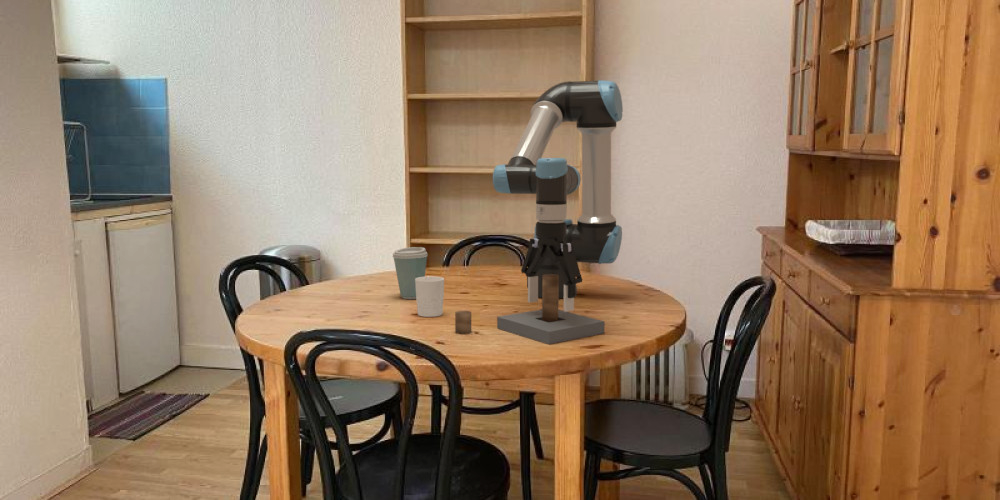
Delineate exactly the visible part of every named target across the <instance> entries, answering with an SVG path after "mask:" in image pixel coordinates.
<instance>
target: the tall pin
mask: <svg viewBox="0 0 1000 500" xmlns="http://www.w3.org/2000/svg"><path fill="white" fill-rule="evenodd" d="M541 299H542V300H541V303H542V304H541V306H542V307H541V309H542V321H545V322H555V321H558V310H559V299H560V298H559V275H555V274H545V275H543V286H542V298H541Z"/></svg>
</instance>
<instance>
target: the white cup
mask: <svg viewBox="0 0 1000 500" xmlns="http://www.w3.org/2000/svg"><path fill="white" fill-rule="evenodd" d="M415 285H416V299H415V300H416V306H417V315H418V317H423V318H424V317H425V318H434V317H435V318H436V317H440V316H442V315H443V313H444V312H443V311H444V310H443V308H444V297H445V292H444V291H445V278H444V277H442V276H436V275H435V276H433V275H432V276H430V275H427V276H426V275H425V277H418V278H416V279H415Z"/></svg>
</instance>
